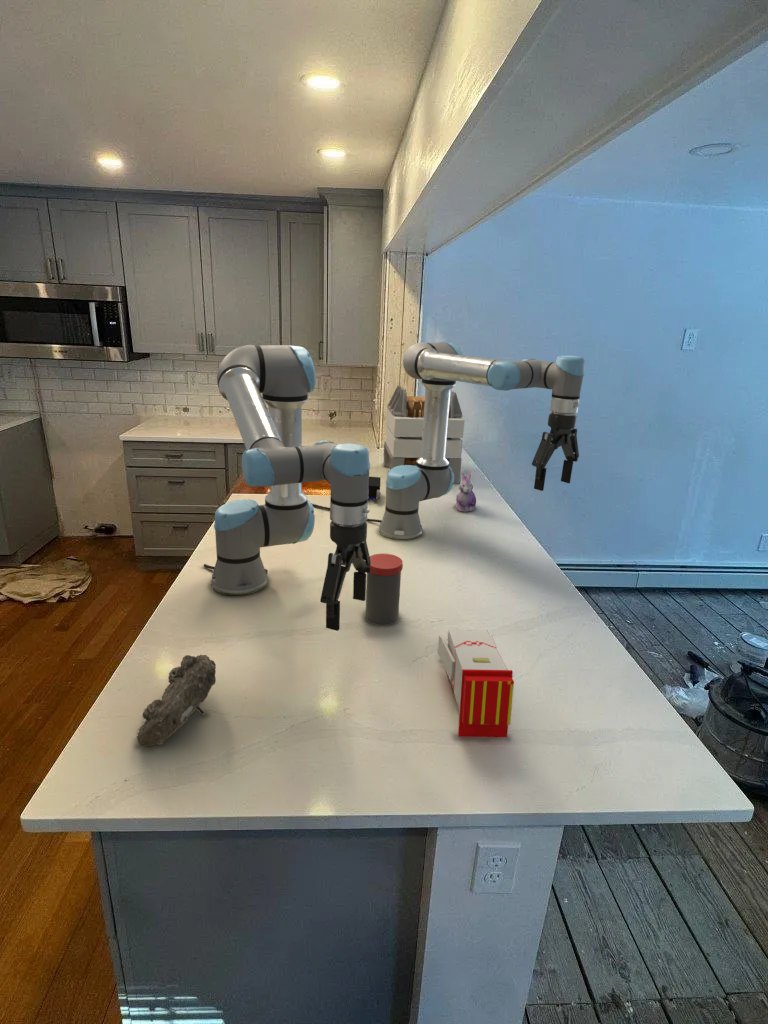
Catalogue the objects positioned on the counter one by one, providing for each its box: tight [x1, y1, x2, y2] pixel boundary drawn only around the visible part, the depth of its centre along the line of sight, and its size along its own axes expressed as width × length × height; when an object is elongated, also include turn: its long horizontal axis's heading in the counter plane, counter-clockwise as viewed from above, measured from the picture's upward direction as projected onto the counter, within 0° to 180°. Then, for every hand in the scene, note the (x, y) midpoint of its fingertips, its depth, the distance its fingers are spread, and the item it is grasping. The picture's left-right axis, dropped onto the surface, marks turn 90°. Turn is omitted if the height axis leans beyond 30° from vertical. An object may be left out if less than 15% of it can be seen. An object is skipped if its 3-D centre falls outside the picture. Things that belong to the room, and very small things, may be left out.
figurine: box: [455, 471, 477, 513], centre depth 226 cm, size 9×10×15 cm
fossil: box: [136, 654, 217, 747], centre depth 108 cm, size 22×10×15 cm
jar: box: [365, 571, 402, 626], centre depth 143 cm, size 8×8×15 cm
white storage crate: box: [383, 384, 465, 484], centre depth 268 cm, size 34×33×41 cm
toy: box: [437, 628, 515, 738], centre depth 117 cm, size 12×13×30 cm
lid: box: [368, 553, 404, 576], centre depth 141 cm, size 9×9×2 cm
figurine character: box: [368, 476, 381, 503], centre depth 235 cm, size 7×8×15 cm
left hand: (346, 613), depth 122 cm, fingers open, 13 cm apart
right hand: (552, 485), depth 166 cm, fingers open, 13 cm apart
